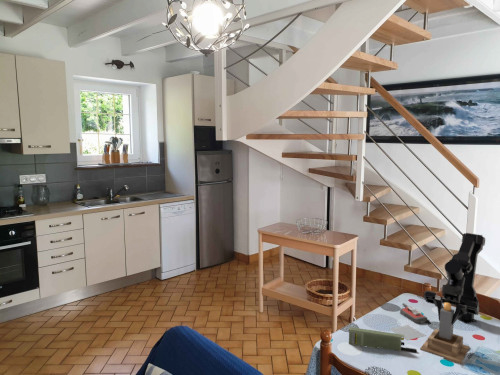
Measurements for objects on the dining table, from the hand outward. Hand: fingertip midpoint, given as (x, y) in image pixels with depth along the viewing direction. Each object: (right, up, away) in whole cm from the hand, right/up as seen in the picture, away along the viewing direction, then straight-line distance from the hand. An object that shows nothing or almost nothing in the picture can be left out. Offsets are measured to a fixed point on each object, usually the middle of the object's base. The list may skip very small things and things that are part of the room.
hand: (445, 322), depth 145 cm
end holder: (+1, -11, +2) cm, 12 cm away
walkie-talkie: (0, -9, +32) cm, 34 cm away
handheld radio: (-23, -12, +4) cm, 26 cm away
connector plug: (+1, -6, +2) cm, 6 cm away
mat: (-8, -10, +15) cm, 20 cm away
